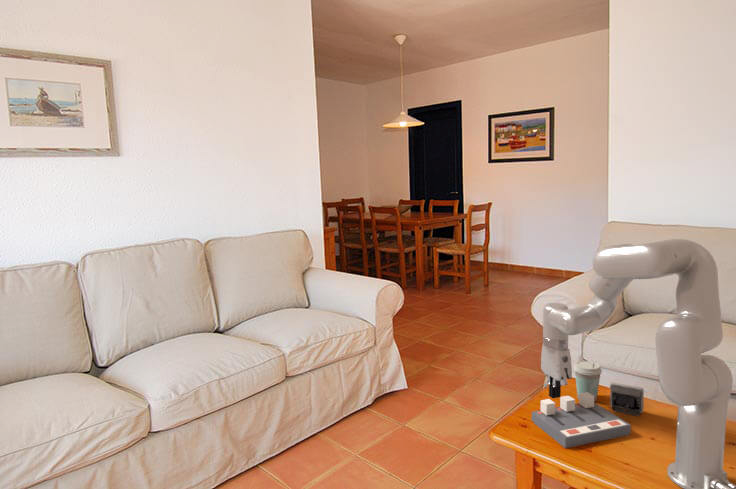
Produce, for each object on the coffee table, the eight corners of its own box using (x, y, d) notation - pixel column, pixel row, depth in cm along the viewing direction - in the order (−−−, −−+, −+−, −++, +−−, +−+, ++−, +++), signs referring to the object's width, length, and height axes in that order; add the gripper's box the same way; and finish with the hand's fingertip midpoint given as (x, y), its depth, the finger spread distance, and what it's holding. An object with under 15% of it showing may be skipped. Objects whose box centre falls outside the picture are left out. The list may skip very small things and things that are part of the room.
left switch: (555, 413, 145) (555, 403, 145) (546, 415, 145) (546, 404, 144) (548, 409, 148) (549, 398, 148) (540, 411, 148) (540, 400, 147)
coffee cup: (590, 406, 156) (591, 371, 154) (567, 397, 163) (568, 363, 161) (606, 399, 160) (607, 365, 158) (583, 390, 167) (584, 358, 166)
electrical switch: (643, 412, 151) (644, 385, 149) (642, 420, 147) (643, 393, 145) (610, 405, 156) (610, 379, 154) (608, 413, 152) (608, 387, 150)
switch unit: (630, 434, 138) (630, 424, 138) (565, 448, 133) (565, 437, 132) (591, 409, 154) (591, 400, 153) (531, 420, 148) (531, 411, 148)
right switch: (594, 406, 149) (594, 396, 148) (585, 408, 148) (586, 397, 148) (587, 402, 152) (587, 392, 151) (579, 404, 151) (579, 393, 151)
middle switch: (574, 410, 147) (575, 399, 147) (566, 411, 146) (566, 401, 146) (568, 406, 150) (568, 395, 150) (560, 407, 149) (560, 396, 149)
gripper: (581, 348, 145) (580, 405, 148) (551, 333, 160) (550, 385, 162) (560, 351, 143) (559, 409, 146) (531, 336, 158) (530, 389, 160)
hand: (554, 396), depth 154 cm, fingers closed
